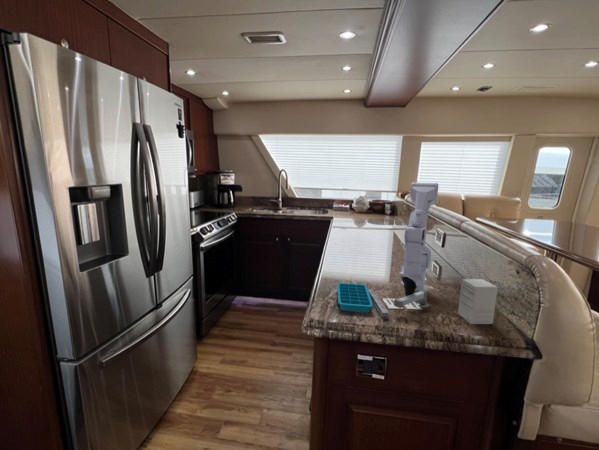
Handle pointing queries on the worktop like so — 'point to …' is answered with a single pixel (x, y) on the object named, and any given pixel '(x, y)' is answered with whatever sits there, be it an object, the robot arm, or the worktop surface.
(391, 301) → the psu label
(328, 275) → the worktop surface
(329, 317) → the worktop surface
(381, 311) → the rail
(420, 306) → the pivot base
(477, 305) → the supplement box
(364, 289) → the ice cube tray
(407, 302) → the bar
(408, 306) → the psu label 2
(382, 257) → the worktop surface
